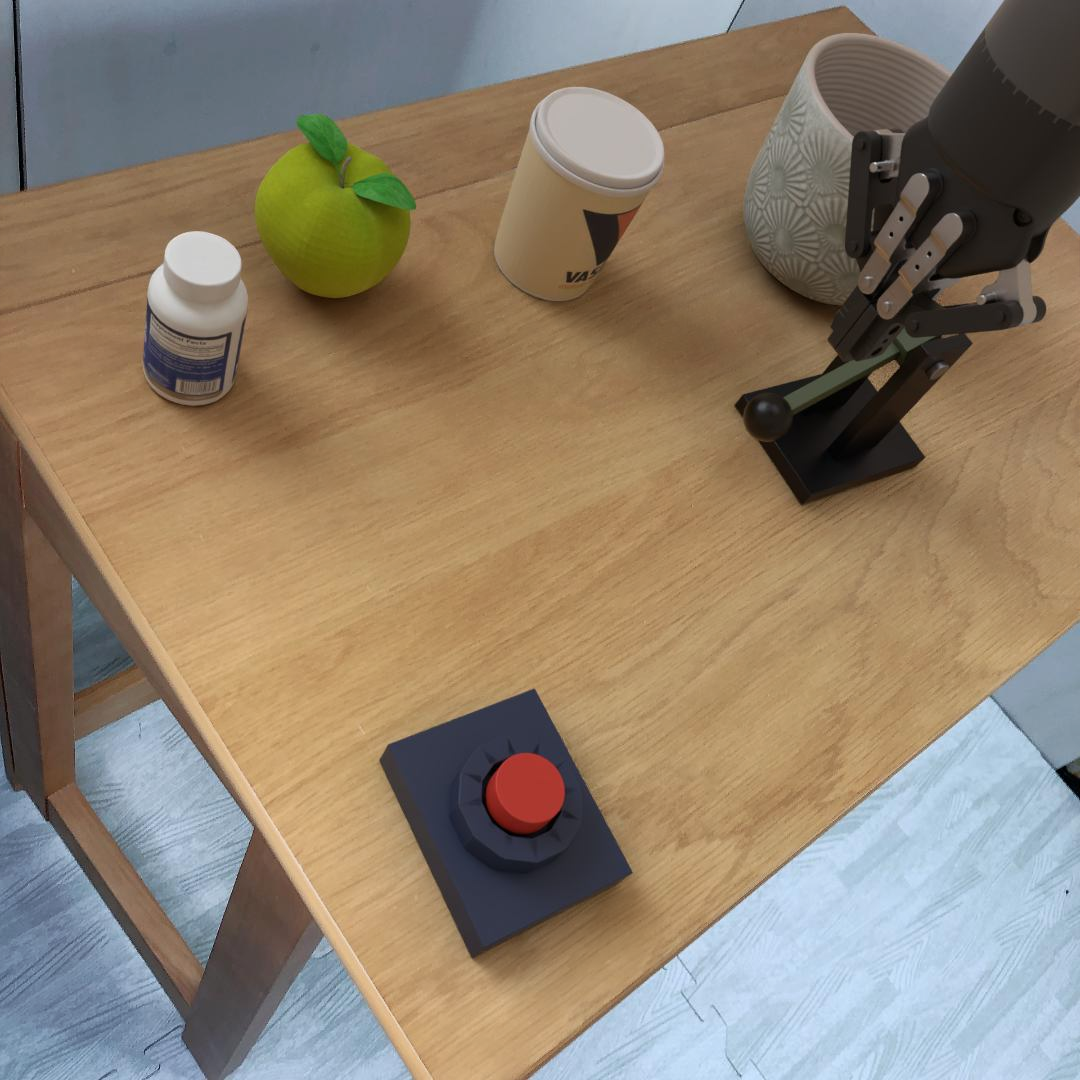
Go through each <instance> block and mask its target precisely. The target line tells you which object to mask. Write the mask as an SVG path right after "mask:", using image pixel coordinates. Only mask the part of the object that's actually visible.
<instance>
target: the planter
mask: <svg viewBox="0 0 1080 1080" xmlns="http://www.w3.org/2000/svg"><path fill="white" fill-rule="evenodd" d="M953 73H954V72H952V71H951V70H949V69H948V68H947V67H946V66H944V65H942V64H941V63H939V62H938V61H936V60H934V59H932V57H929V56H928V55H926V54H924V53H922V52H921V51H919V50H916V49H914V48H912V47H910V46H907V45H905V44H902V43H900V42H898V41H895V40H892V39H889V38H886V37H882V36H877V35H873V34H868V33H857V32H844V33H842V32H841V33H837V34H831V35H829V36H826V37H824V38H822V39H821V40H819V41H818V42H816V43H815V44H813V46H812V47H811V49H810V50H809V51H808V53H807V55H806V58H805V59H804V61H803V64H802V65H801V67H800V69H799V71H798V73H797V75H796V78H795V79H794V81H793V84H792V85H791V87H790V90H789V91H788V93H787V95H786V97H785V99H784V101H783V104H782V106H781V107H780V109H779V111H778V114H777V116H776V117H775V120H774V121H773V124H772V126H771V128H770V129H769V131H768V134H767V135H766V138H765V140H764V141H763V143H762V145H761V147H760V150H759V151H758V153H757V155H756V157H755V159H754V162H753V164H752V166H751V168H750V171H749V174H748V178H747V180H746V184H745V189H744V194H743V201H742V220H743V225H744V229H745V232H746V236H747V239H748V242H749V244H750V246H751V249H752V251H753V253H754V255H755V256H756V257H757V260H759V262H760V263H761V265H762V266H763V267H764V268H765V269H766V270H767V272H768V273H770V274H771V275H772V276H773V277H774V278H775V279H777V281H778V282H780V283H781V284H782V285H784V286H785V287H787V288H789V289H790V290H792V291H793V292H795V293H796V294H799V295H801V296H803V297H805V298H807V299H810V300H812V301H815V302H818V303H822V304H826V305H832V306H842V305H843V304H844V302H845V301H846V300H847V298H848V297H849V296H850V294H851V293H852V292H853V290H854V289H855V288H856V286H857V285H858V277H859V274H860V269H859V266H858V263H857V261H856V258H855V259H854V258H851V257H849V256H848V255H847V253H846V251H845V235H846V221H847V207H848V193H849V179H850V164H851V150H852V141H853V138H854V136H855V135H856V134H857V133H858V132H861V131H871V130H883V129H894V128H898V129H900V130H902V131H903V133H906V132H907V130H908V129H909V128H910V127H911V126H912V125H913V124H915V123H916V122H918V121H921V120H923V119H924V118H926V117H927V116H928V113H929V110H930V107H931V105H932V103H933V101H934V100H935V98H936V97H937V95H938V94H939V93H940V91H941V90H942V88H943V87H944V85H945V84H946V83H947V81H948V80H949V78H950V77H951V75H952V74H953ZM873 221H874V209H873V212H872V224H871V231H873Z"/></svg>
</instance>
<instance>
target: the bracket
mask: <svg viewBox="0 0 1080 1080" xmlns="http://www.w3.org/2000/svg"><path fill="white" fill-rule="evenodd" d="M973 344H974V343H973V341H972V340H971V339H970V338H969V336H968V334H967V333H964V334H953V335H948V336H945V337H942V338H941V339H937V340H934V341H930V342H926V343H922V344H920V345H919V346H918V347H917V348H916V349H915V350H914V352H913V353H912V354H911V355H910V356H909V357H908V358H907V359H906V361H905V362H904V363H903V364H902V365H901V366H899V367H898V368H897V369H896V371H895V372H894V373H893V374H892V375H891V376H890V377H889V378H888V380H886V381H885V383H884V384H883V385H882V386H881V387H880V389H878V390H877V388H876V387H875V386H874V384H873V383H872V382H871V380H870V379H869V378H870V376H871V375H872V374H873V372H871V373H870V374H868V375H866V376H864V377H862V378H860V379H859V380H857V381H855V382H853V383H851V384H849V385H848V386H846V387H844V388H842V389H840V390H838V391H837V392H835V393H833V394H831V395H829V396H827V397H826V398H824V399H822V400H820V401H818V402H816V403H815V404H813V405H811V406H809V407H807V408H805V409H804V410H802V411H800V412H798V413H796V414H794V415H793V422H792V425H791V428H790V430H789V431H788V432H787V433H786V435H784V436H783V437H782V438H780V439H778V440H776V441H772V442H764V441H759V440H757V441H758V442H759V444H760V445H761V447H762V448H763V450H764V451H765V453H766V454H767V456H768V457H769V459H770V461H771V462H772V464H773V465H774V467H775V468H776V469H777V471H778V473H779V474H780V475H781V477H782V478H783V480H784V482H785V483H786V484H787V486H788V487H789V489H790V490H791V491H792V493H793V495H794V496H795V498H796V499H797V501H798V502H799V504H800V505H801V506H803V505H806V504H810V503H813V502H816V501H819V500H821V499H824V498H828V497H831V496H833V495H836V494H839V493H840V494H841V493H843V492H845V491H849V490H851V489H854V488H855V489H856V488H858V487H861V486H863V485H867V484H870V483H872V482H876V481H878V480H882V479H884V478H888V477H891V476H894V475H897V474H899V473H902V472H905V471H908V470H912V469H914V468H917V467H918V466H919V465H920V464H921V463H922V462H923V461H924V460H925V459H926V455H925V454H924V453H923V451H922V450H921V449H920V447H919V446H918V445H917V443H916V442H915V441H914V439H913V438H912V436H911V435H910V434H909V432H908V430H906V428H905V427H904V426H903V424H902V423H901V421H902V419H903V418H904V417H905V416H906V415H907V414H908V413H909V412H911V410H912V409H913V408H914V407H916V405H917V403H919V402H920V400H921V399H922V398H923V397H924V396H925V395H927V393H928V392H929V391H930V390H931V389H932V388H933V387H934V386H935V385H936V383H937V382H939V381H940V380H941V378H942V377H943V376H944V375H946V373H947V372H948V371H949V370H950V369H951V368H952V367H953V366H954V364H956V363H957V361H958V360H959V359H960V358H961V357H962V356H963V355H964V354H965V353H966V352H967V351H968V350H969V348H971V347H972V345H973ZM848 362H849V361H848ZM848 362H843V361H842V360H841V358H840V357H839V355H838V354H836V356H835V357H834V358H833V359H832V361H831V362H830V363H829V365H827V367H826V368H825V369H824V371H823V372H822V373H820V374H817V375H813V376H809V377H805V378H800V379H796V380H793V381H789V382H785V383H782V384H781V383H780V384H777V385H774V386H769V387H766V388H762V389H761V388H760V389H759V390H754V391H749V392H746V393H742V394H741V396H740V397H739V399H738V400H737V401H736V402H735V404H734V407H735V408H736V409H737V411H738V412H739V414H740V416H741V418H743V415H744V410H745V408H746V406H747V404H748V403H749V401H750V400H751V399H753V398H754V397H755V396H757V395H759V394H763V393H775V394H778V395H780V396H782V397H785V396H787V395H789V394H791V393H792V392H794V391H796V390H798V389H800V388H802V387H804V386H805V385H807V384H809V383H811V382H813V381H815V380H816V379H818V378H820V377H822V376H824V375H826V374H827V373H829V372H831V371H833V370H835V369H837V368H838V367H840V366H842V365H844V364H846V363H848Z"/></svg>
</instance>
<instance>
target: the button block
mask: <svg viewBox="0 0 1080 1080" xmlns="http://www.w3.org/2000/svg"><path fill="white" fill-rule="evenodd" d="M520 753H532V754H536V755H539V756H541V757H543V758H545V759H547V760H548V761H549V762H551V763H552V764H553V765H554V766H555V767H556V769H557V770H558V771H559V773H560V775H561V777H562V779H563V783H564V787H565V798H564V802H563V805H562V807H561V809H560V811H559V812H558V813H557V814H556V815H555V816H554V817H553V818H552V819H551V820H550V821H549V822H548V823H547V824H546V825H545V826H544V827H543V828H542V829H540V830H539V831H537V832H534V833H530V834H517V833H513V832H510V831H508V830H506V829H504V828H503V827H501V826H500V825H499V824H498V823H497V822H496V821H495V820H494V819H493V817H492V816H491V814H490V812H489V810H488V807H487V803H486V788H487V785H488V782H489V780H490V779H491V777H492V776H493V775H494V773H495V772H496V771H497V770H498V768H499V767H500V766H501V765H502V763H503V762H504V761H505V760H507V759H508V758H509V757H511V756H513V755H516V754H520ZM378 762H379V763H380V765H381V768H382V770H383V772H384V774H385V776H386V778H387V780H388V783H389V785H390V787H391V789H392V791H393V793H394V795H395V797H396V800H397V802H398V804H399V806H400V809H401V810H402V813H403V815H404V817H405V819H406V821H407V824H408V825H409V828H410V830H411V831H412V834H413V836H414V838H415V840H416V843H417V845H418V847H419V849H420V851H421V853H422V855H423V857H424V859H425V862H426V864H427V866H428V868H429V870H430V872H431V874H432V877H433V879H434V881H435V883H436V885H437V888H438V889H439V892H440V894H441V896H442V898H443V900H444V902H445V904H446V907H447V909H448V911H449V914H450V915H451V917H452V920H453V922H454V924H455V926H456V928H457V930H458V932H459V935H460V937H461V938H462V940H463V943H464V945H465V947H466V950H467V952H468V954H469V956H470V958H471V959H474V958H476V957H477V956H480V955H481V954H484V953H486V952H487V951H490V950H491V949H493V948H495V947H497V946H499V945H501V944H503V943H505V942H507V941H509V940H511V939H514V938H515V937H517V936H519V935H521V934H523V933H525V932H527V931H529V930H531V929H533V928H535V927H537V926H539V925H541V924H543V923H544V922H546V921H549V920H550V919H553V918H554V917H557V916H558V915H560V914H563V913H564V912H566V911H568V910H570V909H572V908H574V907H577V906H578V905H581V904H582V903H584V902H586V901H588V900H589V899H592V898H594V897H596V896H598V895H600V894H601V893H604V892H605V891H608V890H610V889H611V888H613V887H615V886H617V885H619V884H620V883H621V882H623V881H624V880H625V879H627V878H628V877H629V876H630V875H632V874H633V870H632V868H631V866H630V864H629V862H628V860H627V859H626V857H625V855H624V853H623V851H622V849H621V847H620V846H619V843H618V842H617V840H616V837H615V836H614V835H613V833H612V831H611V828H610V827H609V825H608V823H607V821H606V819H605V817H604V815H603V813H602V812H601V810H600V807H599V806H598V805H597V802H596V800H595V799H594V797H593V795H592V793H591V791H590V789H589V788H588V786H587V783H586V781H585V780H584V777H583V776H582V774H581V773H580V770H579V769H578V766H577V765H576V763H575V761H574V758H573V757H572V756H571V753H570V752H569V749H568V748H567V746H566V744H565V743H564V741H563V738H562V737H561V735H560V733H559V731H558V729H557V727H556V725H555V723H554V722H553V720H552V718H551V716H550V714H549V712H548V710H547V709H546V707H545V705H544V703H543V701H542V699H541V697H540V695H539V693H538V692H537V690H536V688H532V689H529V690H527V691H524V692H522V693H519V694H516V695H513V696H511V697H509V698H505V699H503V700H500V701H498V702H495V703H492V704H490V705H488V706H485V707H481V708H480V709H477V710H474V711H472V712H469V713H467V714H464V715H461V716H459V717H456V718H453V719H450V720H448V721H445V722H443V723H440V724H438V725H435V726H433V727H430V728H427V729H425V730H422V731H419V732H417V733H414V734H411V735H409V736H406V737H404V738H402V739H399V740H398V739H397V740H396V741H393V742H391V743H388V745H387V746H386V748H385V749H384V750H383V753H382V754H381V756H380V758H379V760H378Z"/></svg>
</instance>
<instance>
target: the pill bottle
mask: <svg viewBox="0 0 1080 1080" xmlns="http://www.w3.org/2000/svg"><path fill="white" fill-rule="evenodd" d="M242 264H243V263H242V257H241V255H240V253H239V250H237V248H236V247H235V246H234V245H233V243H231V242H229V240H227V239H225V238H224V237H222V236H220V235H217V234H214V233H211V232H206V231H200V230H199V231H196V230H194V231H187V232H183V233H180V234H178V235H177V236H175V237H173V238H172V239H170V241H169V242H168V243H167V245H166V247H165V250H164V256H163V263H161V265H160V266H159V267H157V268H156V269H155V270H154V271H153V273H152V275H151V277H150V279H149V282H148V287H147V294H146V309H145V310H146V312H145V324H144V325H145V326H144V338H143V339H144V341H143V353H142V370H143V374H144V377H145V379H146V381H147V383H148V385H149V386H150V387H151V388H152V389H153V390H154V392H156V393H157V394H158V395H160V396H161V398H164V399H165V400H168V401H170V402H172V403H176V404H179V405H183V406H191V407H195V406H204V405H209V404H212V403H215V402H217V401H219V400H220V399H222V398H223V397H224V396H226V394H228V392H229V391H230V390H231V389H232V387H233V386H234V383H235V380H236V377H237V373H238V367H239V361H240V355H241V351H242V350H241V349H242V344H243V337H244V333H245V326H246V322H247V321H246V320H247V315H248V310H249V294H248V290H247V287H246V285H245V283H244V281H243V280H242V278H241V274H242V268H243V267H242Z"/></svg>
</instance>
